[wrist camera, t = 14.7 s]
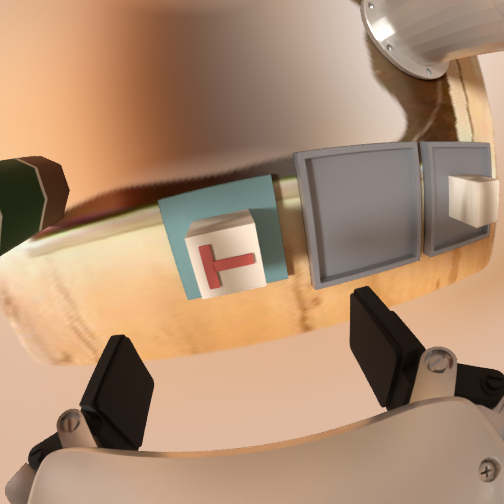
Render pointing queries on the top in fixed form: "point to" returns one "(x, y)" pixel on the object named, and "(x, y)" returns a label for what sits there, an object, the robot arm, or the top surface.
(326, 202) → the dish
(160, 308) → the top surface
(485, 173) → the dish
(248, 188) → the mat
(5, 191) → the beer bottle
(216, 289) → the letter cube
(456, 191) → the plain cube
